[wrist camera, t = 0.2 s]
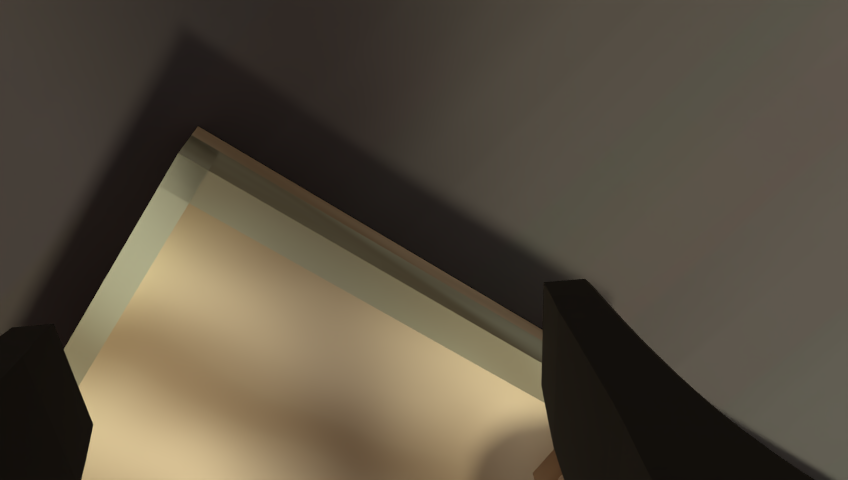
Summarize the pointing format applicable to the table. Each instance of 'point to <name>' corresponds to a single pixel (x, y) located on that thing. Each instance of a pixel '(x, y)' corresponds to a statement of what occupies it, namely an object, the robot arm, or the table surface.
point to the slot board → (296, 346)
